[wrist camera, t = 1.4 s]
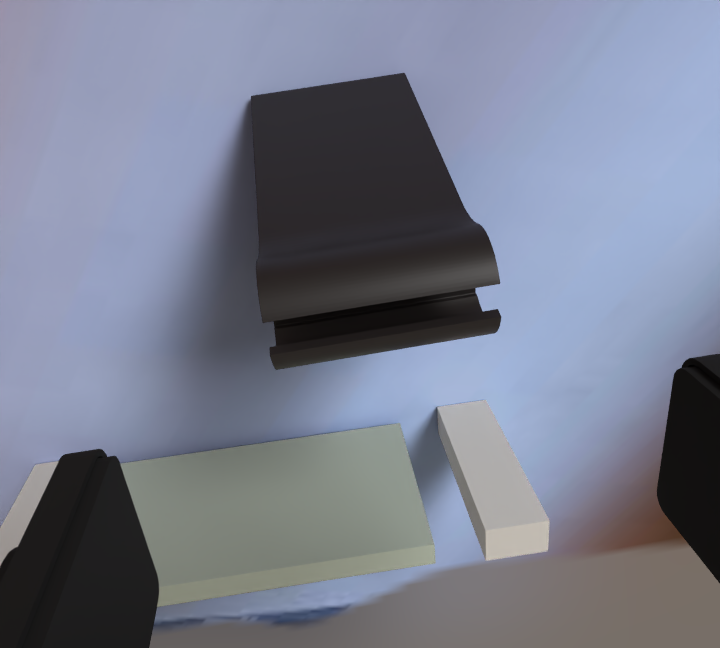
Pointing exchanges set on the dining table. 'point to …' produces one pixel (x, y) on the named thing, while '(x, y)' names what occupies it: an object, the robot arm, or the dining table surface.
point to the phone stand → (361, 226)
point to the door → (280, 513)
